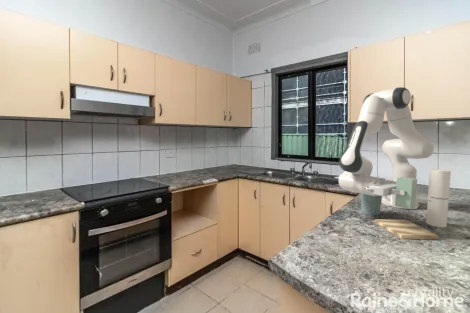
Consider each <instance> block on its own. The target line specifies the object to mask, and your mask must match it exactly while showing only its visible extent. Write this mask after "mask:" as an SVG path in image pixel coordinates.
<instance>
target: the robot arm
mask: <svg viewBox="0 0 470 313" xmlns="http://www.w3.org/2000/svg"><path fill="white" fill-rule="evenodd" d="M411 97H412V96H411V92H410V91H409V89H407V88H406V87H395V88H388V89H383V90H380V91H376V92H373V93H369V94H367V95H366V96H365V97H364V98H363V101H362V106H361V108H360V112H359V115H358V120H357V122H356V123H355V124H354V126H353V128H352V131H351V133H350V136H349V138H348V142H347V143H346V144H347V145H346V146H345V149H344V151H343V152H342V154H341V155H340V158H339V162H338V163H339V167H340V168H341V169H342V170H343V173H340V174H339V176H338V185H339V187H340V188H341V189H343V190H345V191H348V192H353V193H360V194H361V193H363V194H366V195H371V196H378V195H379V196H382V200H381V204H383V205H385V206H387V207H392V208H393V207H394V208H398V209H402V208H401V207H396V206H395V197H396V194H400V195H405V194H406V191H405V190H397V189H396V182H397V178H400V177H405V178H413V179H417V175H418V174H417V173H418V172H417V169H416V168H417V167H415V166H414V165H412V164H410V162H409V160H408V159H412V160H413V159H416V160H418V159H428V158H429V157H431V156H432V155H433V153H434V148H435V147H434V144H433V142H432V141H430V139H427V138H425V137H423V136H422V135H421V134H420V133H419V131H418V130H417V129H416V127H415V124H414V121H413V117H412V112H411V108H410V106H409V104H410V102H411ZM385 116H386V119H387V124H388V129H389V131H390V133H391V134H392V135H394V136H395V137H397V138H393V139H387V140H385V141H384V142H383V144H382V145H381V146H382V148H381V150H382V153H383V154H384V155H385V156H386V157H387V158H388V159H389V161H390V163H391V166H392V167H391V168H392V180H389V179H386V178H383V177H379V176H378V177H377V176H372V174H371V173H372V170H373V163H372V162H371V161H370V160H369V159H367V158H366V157H365V156H362V154H361V150H362V147H363V144H364V141H365V139H366V136H367V135H372V134H376V133H377V132H379V131H380V130H381V128H382V127H383V123H384V119H385ZM420 206H421V205H420V203H419V196H418V191H416V204H415V208H412V209H411V210H416V209H418V208H419V207H420ZM403 209H406V208H403Z"/></svg>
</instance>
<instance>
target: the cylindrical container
mask: <svg viewBox="0 0 470 313" xmlns="http://www.w3.org/2000/svg"><path fill="white" fill-rule="evenodd" d="M451 173H452V170H450V169H441V168H429V176H428V177H429V178H428V189H427V190H428V193H427V195H428V196H427V207H426V220H425V223H426V224H427V225H429V226H432V227H438V228H447V225H448V213H449V212H448V211H449V201H450V188H451V186H450V185H451V175H452V174H451Z"/></svg>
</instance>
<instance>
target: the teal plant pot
mask: <svg viewBox="0 0 470 313" xmlns="http://www.w3.org/2000/svg"><path fill="white" fill-rule="evenodd" d="M360 199H361V200H360V202H361V204H360V212H361V213H363V214H365V215H370V216H379V215H380V214H381V208H382V207H381V206H382V202H381V200H382V196H379V195H378V196H371V195H366V194H363V193H360Z"/></svg>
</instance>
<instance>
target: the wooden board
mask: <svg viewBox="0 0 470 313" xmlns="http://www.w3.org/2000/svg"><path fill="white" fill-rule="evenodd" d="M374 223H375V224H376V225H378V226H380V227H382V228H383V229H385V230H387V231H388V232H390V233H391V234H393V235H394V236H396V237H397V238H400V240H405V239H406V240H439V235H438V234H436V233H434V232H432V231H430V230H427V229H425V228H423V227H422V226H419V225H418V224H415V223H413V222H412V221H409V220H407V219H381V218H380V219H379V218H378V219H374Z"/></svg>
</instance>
